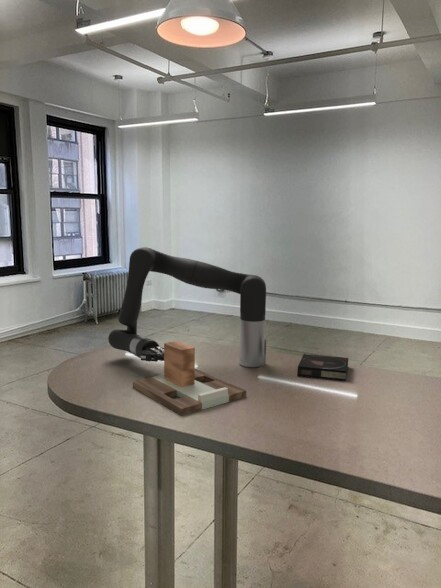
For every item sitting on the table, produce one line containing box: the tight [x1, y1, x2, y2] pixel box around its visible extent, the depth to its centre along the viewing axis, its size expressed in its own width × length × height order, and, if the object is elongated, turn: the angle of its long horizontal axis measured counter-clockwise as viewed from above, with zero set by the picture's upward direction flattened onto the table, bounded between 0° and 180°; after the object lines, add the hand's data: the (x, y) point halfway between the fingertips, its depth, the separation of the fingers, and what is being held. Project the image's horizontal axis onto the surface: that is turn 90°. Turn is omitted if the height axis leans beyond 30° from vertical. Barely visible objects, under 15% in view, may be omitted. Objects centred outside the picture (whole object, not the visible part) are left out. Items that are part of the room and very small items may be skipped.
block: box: [163, 340, 196, 387], centre depth 157 cm, size 5×10×12 cm, turn 39°
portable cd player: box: [296, 353, 349, 382], centre depth 176 cm, size 16×17×4 cm
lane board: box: [132, 368, 247, 416], centre depth 154 cm, size 24×28×4 cm
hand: (170, 359), depth 161 cm, fingers closed
